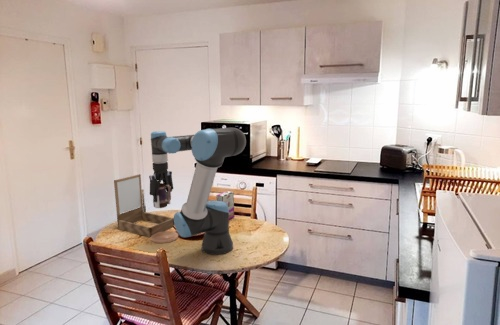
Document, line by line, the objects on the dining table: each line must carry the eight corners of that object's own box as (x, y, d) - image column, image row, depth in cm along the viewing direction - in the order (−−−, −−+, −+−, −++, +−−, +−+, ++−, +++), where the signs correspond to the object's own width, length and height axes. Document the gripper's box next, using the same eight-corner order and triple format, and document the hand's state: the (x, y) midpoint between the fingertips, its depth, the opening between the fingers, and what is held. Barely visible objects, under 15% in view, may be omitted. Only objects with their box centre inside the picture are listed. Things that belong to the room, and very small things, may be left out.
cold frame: (174, 226, 201) (172, 194, 197) (150, 237, 186) (148, 202, 182) (142, 219, 214) (140, 189, 211) (117, 228, 199) (115, 196, 195)
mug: (150, 207, 181) (148, 184, 179) (159, 203, 187) (158, 181, 185) (166, 209, 176) (164, 186, 174) (175, 205, 183) (173, 183, 180)
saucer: (183, 235, 187) (183, 233, 187) (164, 245, 175) (164, 243, 175) (164, 231, 194) (164, 229, 194) (145, 239, 182) (144, 237, 182)
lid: (142, 206, 212) (140, 174, 208) (118, 215, 197) (115, 180, 193) (141, 206, 213) (139, 174, 209) (116, 215, 197) (113, 180, 194)
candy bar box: (228, 216, 217) (227, 190, 214) (234, 217, 215) (234, 191, 212) (216, 221, 208) (215, 194, 205) (223, 223, 205) (222, 195, 203)
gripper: (168, 158, 188) (170, 199, 192) (139, 164, 171) (142, 209, 175) (179, 159, 184) (181, 201, 188) (150, 166, 167) (153, 212, 171)
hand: (162, 205), depth 182 cm, fingers closed on mug, 7 cm apart
